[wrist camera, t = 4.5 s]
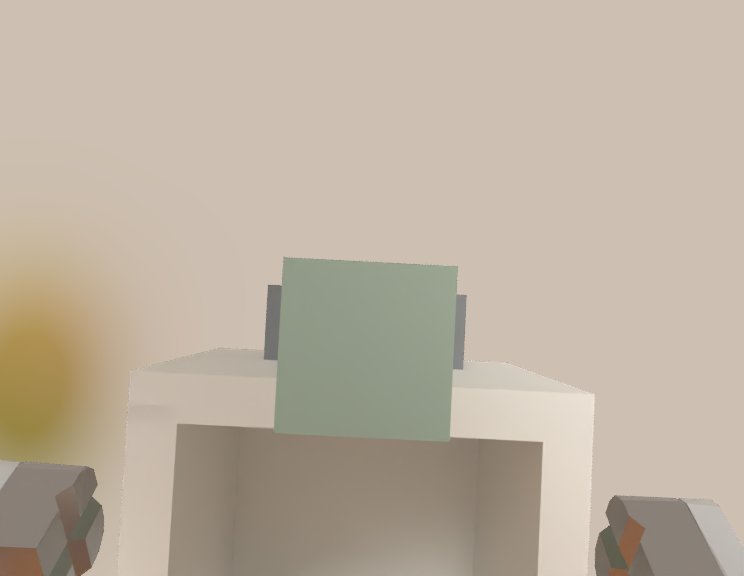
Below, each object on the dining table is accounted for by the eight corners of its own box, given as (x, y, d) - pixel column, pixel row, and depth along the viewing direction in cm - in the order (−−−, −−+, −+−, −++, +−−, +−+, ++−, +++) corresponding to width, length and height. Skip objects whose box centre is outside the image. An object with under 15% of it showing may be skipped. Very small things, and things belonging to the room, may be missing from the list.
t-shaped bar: (595, 449, 11) (602, 273, 11) (125, 425, 11) (137, 250, 11) (452, 363, 29) (455, 296, 29) (274, 354, 29) (278, 287, 29)
